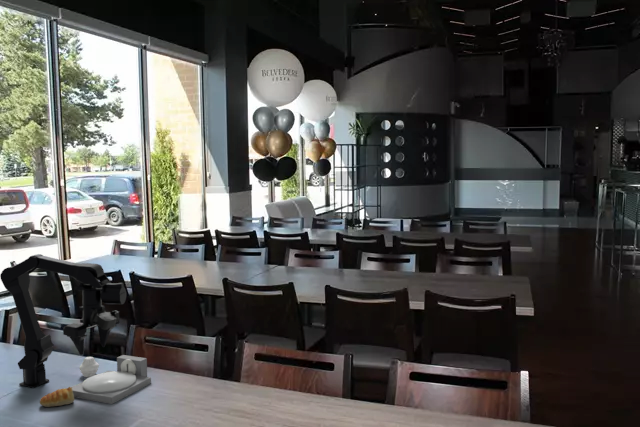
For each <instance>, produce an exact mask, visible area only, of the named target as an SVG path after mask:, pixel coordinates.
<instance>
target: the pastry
mask: <svg viewBox="0 0 640 427" xmlns="http://www.w3.org/2000/svg"><path fill="white" fill-rule="evenodd" d="M72 387H73V386H68V387H66V388H58V389H56V390H54V391H52V392H50V393H47V394H46V395H44V396H42V397H41V398H40V400H39V405H41V406H43V407H46V408H50V407H57V406H59V407H61V406H63V405H69V404H72V403H74V401H75V397H74V394H73V390H72Z"/></svg>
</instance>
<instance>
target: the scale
mask: <svg viewBox="0 0 640 427" xmlns="http://www.w3.org/2000/svg"><path fill="white" fill-rule="evenodd" d="M116 370H117V371H111V370H106V371H104V372H102V373H98V374H97V373H96V374H95V375H94V376H92V377H86V378H85V380H84V381H81V382H80V383H78V384H75V385H72V386H71V387H72V390H73V394H74V398H76V399H77V398H78V399H83V400H88V401H94V402H98V403H99V402H100V403H105V404H109V405H113V404H115V403H117V402H118V401H121V400H123V399H124V398H126V397H128V396H131V395H132V394H134V393H135V392H138V391H139V390H141V389H142V388H144V387H146V386H148V385H149V384H151V383H152V377H150V376H148V360H147V358H146V357H140V356H139V357H138V356H133V355H125V354H122V355H120V356H118V357H116Z"/></svg>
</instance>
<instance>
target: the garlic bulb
mask: <svg viewBox="0 0 640 427" xmlns="http://www.w3.org/2000/svg"><path fill="white" fill-rule="evenodd" d="M99 366H100V364H99V363H98V362H97V361H96V360H95V358H94V357H93V356H86V357H85V358H83V361H82V363H81V364H80V365H79V371H80V373H81V374H82V376H83V377H84V378H89V377H92V376H94V375H97V373H98V370H99Z"/></svg>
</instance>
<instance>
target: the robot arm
mask: <svg viewBox="0 0 640 427" xmlns="http://www.w3.org/2000/svg"><path fill="white" fill-rule="evenodd" d="M37 269H40V270H42V271H48V272H52V273H56V274H60V275H65V276H69V277H71V278H73V279H75V280H76V281H77V282H79V283H80V284H79V285H78V286H76V287H75V290H76V291H82V305H81V306H79V310H80V311H82V318H81V319H79V323H80V324H79V323H69V324H67V325H65V326H64V327H62V330H63V332H62V335H63V336H66V337H68V338H70V340H71V341H72V343H73V344H74V346H75V348H76V350H77V352H78V354H79V355H80V356H83V355H84V353H85V352H84V351H85V339H86V337H87V336H88V334H86V333H87V332H88V330H89V329H92V328H96V327H97V330H98V336H99V342H100V346H101V347H102V348H105V346H106V344H107V341H108V338H109V336H110V333H111V331H112V330H113V329H114V328H115V327H117V325H119V324H120V311H118V310H112V311H106V306H105V305H124V304H125V302H126V300H127V290H126V288H125V286H124V282H118V283H117V282H116V283H114V282H113V283H112V282H111V280H110V278H108V276H107V275H106V274H105V271H104V269H103V266H102V265H100V264H98V263H89V262H87V263H85V262H84V263H83V262H82V263H81V262H71V261H67V260H64V259H58V258H55V257H50V256H46V255H43V254H39V253H38V254H34V255H31V256H29V257H28V258H26V259H25V260H23V261H21V262H18V263H17V264H16V265H12V266H8V267H5V268H4V269H3V270H2V271H1V273H0V281H1V282H2V284H3V286H4V288H5V290H7V291H8V292H9V293H10V294H11V296H12V297H13V298H12V299H13V301H14V304H15V307H16V311H17V314H18V317H19V321H20V322H21V324H20V325H21V328H22V330H23V333H24V336H25V337H24V339H25V340H24V344H23V348H24V356H23V357H22V358H21V359H20V360H19V361H18V362H17V366H18V368H19V370H22V379H23V381H21V382H20V383H19V386H23V387H27V388H36V387H39V386H40V385H43V384H46V383H48V382H50V379H48V378H46V377H47V375H46V368H45V367H46V366H45V362H47V361H48V358H49V357H50V355H52V353H53V351H54V350H53V346H55V345H54V344H53V342H52V336H51V334H49V333H48V334H47V335H46V334H45V333H43V332H42V329H41V326H40V323H39V320H38V319H39V318H38V317H37V313H36V309H35V307H34V303H33V300H32V298H31V297H32V296H31V295H30V291H29V290H30V283H31V279H30V278H31V277H30V274H31V273H33V272H35V271H37ZM103 304H105V305H103ZM81 323H82V324H81Z"/></svg>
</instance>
